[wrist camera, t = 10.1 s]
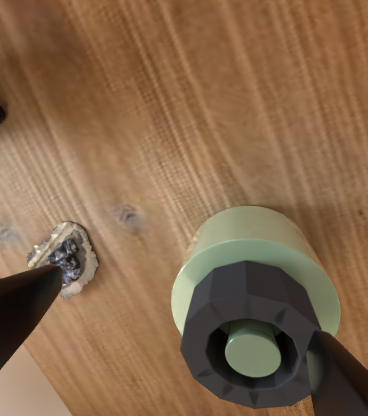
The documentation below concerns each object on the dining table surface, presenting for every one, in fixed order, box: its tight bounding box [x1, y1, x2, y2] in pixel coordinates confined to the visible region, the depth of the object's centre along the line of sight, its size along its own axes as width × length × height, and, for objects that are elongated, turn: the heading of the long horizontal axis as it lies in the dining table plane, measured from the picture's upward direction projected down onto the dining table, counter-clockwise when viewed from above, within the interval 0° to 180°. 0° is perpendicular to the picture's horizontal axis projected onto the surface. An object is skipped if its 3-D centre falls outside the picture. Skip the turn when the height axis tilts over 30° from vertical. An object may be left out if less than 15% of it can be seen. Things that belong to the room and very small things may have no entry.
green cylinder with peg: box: [171, 206, 341, 377], centre depth 17 cm, size 10×10×9 cm
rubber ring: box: [180, 260, 322, 409], centre depth 14 cm, size 7×7×3 cm
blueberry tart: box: [26, 221, 99, 300], centre depth 24 cm, size 7×8×2 cm
